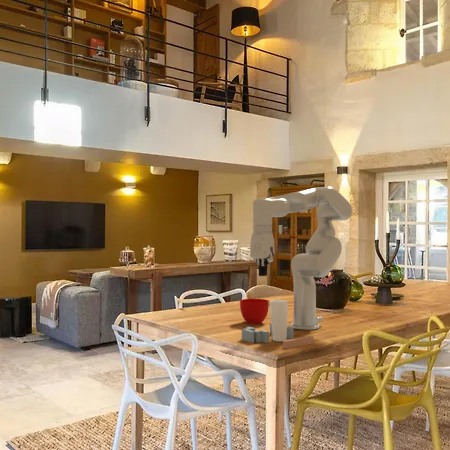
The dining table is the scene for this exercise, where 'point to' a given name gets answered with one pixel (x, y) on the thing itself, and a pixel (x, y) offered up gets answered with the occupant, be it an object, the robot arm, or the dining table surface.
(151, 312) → the dining table surface
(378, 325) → the dining table surface
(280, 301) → the drinking glass
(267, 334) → the channel
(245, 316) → the ceramic cup
